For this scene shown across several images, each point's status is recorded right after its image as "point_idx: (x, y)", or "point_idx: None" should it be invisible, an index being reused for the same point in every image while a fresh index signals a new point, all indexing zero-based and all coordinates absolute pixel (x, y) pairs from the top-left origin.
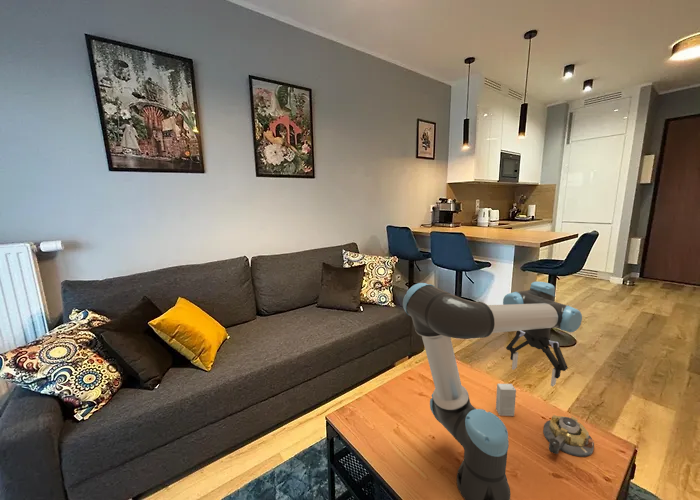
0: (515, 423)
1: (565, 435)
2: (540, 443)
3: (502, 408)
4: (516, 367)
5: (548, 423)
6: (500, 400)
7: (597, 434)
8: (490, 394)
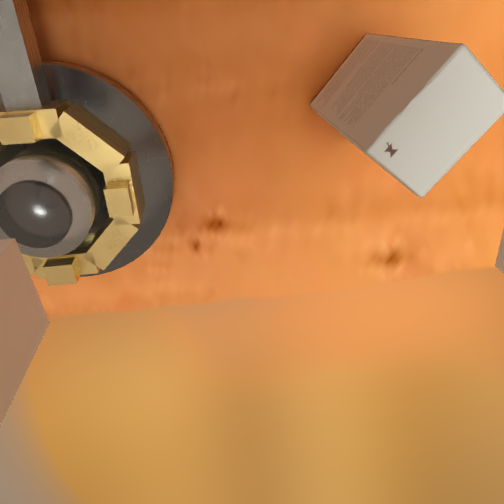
0: (276, 53)
1: (4, 112)
2: (112, 16)
3: (373, 49)
4: (500, 257)
5: (159, 181)
6: (411, 39)
7: None
8: (473, 164)
